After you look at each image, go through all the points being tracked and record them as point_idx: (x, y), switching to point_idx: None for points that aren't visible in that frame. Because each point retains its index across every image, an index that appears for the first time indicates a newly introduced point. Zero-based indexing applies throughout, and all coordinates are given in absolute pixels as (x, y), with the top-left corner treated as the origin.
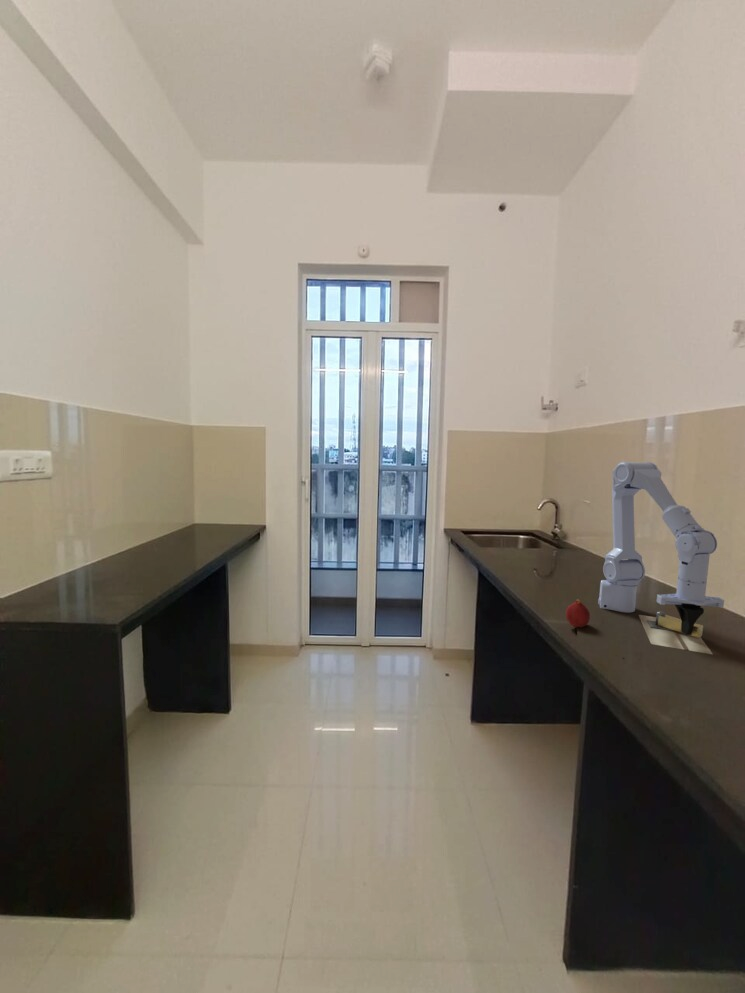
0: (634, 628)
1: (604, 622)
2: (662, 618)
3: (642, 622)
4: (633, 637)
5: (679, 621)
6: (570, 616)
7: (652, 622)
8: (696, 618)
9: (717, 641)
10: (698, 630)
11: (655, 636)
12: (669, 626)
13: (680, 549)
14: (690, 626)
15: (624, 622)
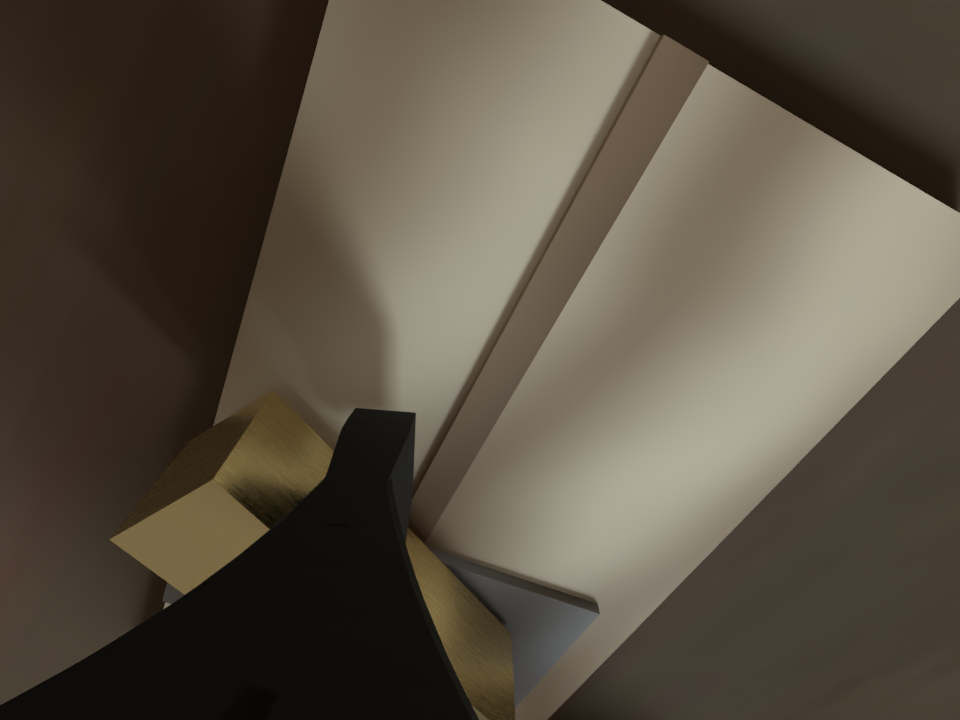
0: (665, 619)
1: (819, 692)
2: (493, 702)
3: (580, 680)
4: (854, 476)
5: None
6: None
7: None
8: (232, 588)
9: (42, 417)
10: (236, 450)
11: (730, 440)
12: (453, 596)
13: None
14: (371, 475)
15: (653, 694)
